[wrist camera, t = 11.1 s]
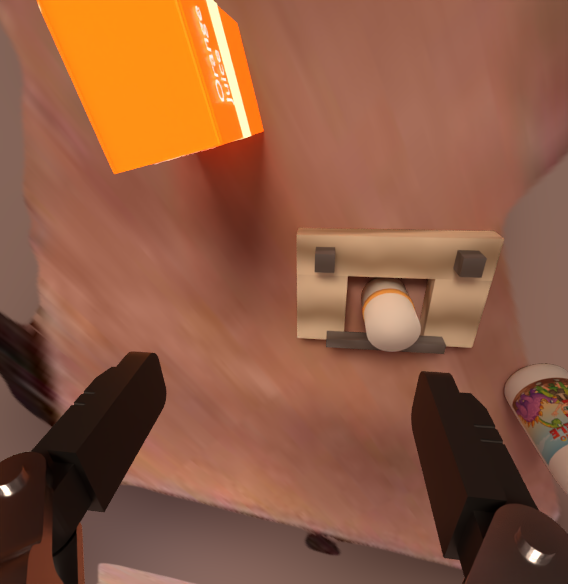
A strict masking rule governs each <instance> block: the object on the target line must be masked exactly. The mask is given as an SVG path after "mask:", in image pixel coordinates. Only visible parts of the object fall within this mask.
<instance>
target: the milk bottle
mask: <svg viewBox="0 0 568 584" xmlns="http://www.w3.org/2000/svg"><path fill="white" fill-rule="evenodd" d="M504 394H505V398H506V400H507V402H508V403H509V405H510V407H511V409H512V410H513V412H514V414H515V415H516V417H517V419H518V420H519V422H520V424H521V425H522V427H523V429H524V430H525V432H526V434H527V436H528V437H529V439H530V441H531V442H532V444H533V445H534V447H535V449H536V450H537V452H538V454H539V455H540V457H541V459H542V460H543V462H544V464H545V465H546V467H547V468H548V470H549V471H550V473H551V474H552V476H553V477H554V479H555V480H556V482H557V483H558V484H559V486H560V487H561V488H562V489H563V490H564V491H565V493H566V494H567V495H568V371H567V370H565V369H564V368H562V367H559V366H556V365H553V364H547V363H545V364H533V365H530V366H526V367H524V368H522V369H520V370H518V371H516V372H515V373H514V374H513V375H511V376H510V378H509V379H508V380H507V382H506V384H505V388H504Z"/></svg>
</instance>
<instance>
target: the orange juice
mask: <svg viewBox="0 0 568 584" xmlns="http://www.w3.org/2000/svg"><path fill="white" fill-rule="evenodd" d="M37 3H38V5H39V8H40V10H41V13H42V15H43V17H44V19H45V22H46V24H47V26H48V28H49V31H50V33H51V35H52V37H53V39H54V42H55V44H56V46H57V48H58V51H59V53H60V55H61V57H62V60H63V62H64V64H65V66H66V68H67V71H68V73H69V75H70V77H71V80H72V82H73V84H74V86H75V89H76V91H77V93H78V95H79V98H80V100H81V102H82V104H83V106H84V109H85V111H86V113H87V115H88V118H89V120H90V122H91V124H92V127H93V129H94V131H95V133H96V135H97V138H98V140H99V142H100V144H101V147H102V149H103V151H104V153H105V156H106V158H107V160H108V162H109V164H110V167H111V169H112V171H113V173H114V174H117V173H120V172H124V171H128V170H131V169H135V168H139V167H142V166H146V165H150V164H153V163H156V164H157V162H161V161H163V162H164V160H168V159H169V160H170V159H171V160H172V158H176V157H179V156H182V157H183V155H187V154H188V155H189V154H190V153H194V152H195V153H196V152H198V151H201V150H205V149H207V150H208V149H209V148H212V147H215V148H216V146H220V145H223V144H226V143H229V142H232V141H236V140H240V139H244V138H247V137H250V136H251V135H254V134H257V133H260V132H263V131H264V130H263V126H262V122H261V118H260V114H259V110H258V106H257V101H256V97H255V93H254V89H253V85H252V81H251V77H250V73H249V69H248V65H247V61H246V57H245V53H244V49H243V45H242V41H241V37H240V33H239V28H238V24H237V23H236V22H235V21H234V20H233V19H232V18H231V17H230V16H229V15H227V14H226V13H225V12H224V11H223V10H222V9H221V8H220V7H218V6H217V4H216V3H215V2H214V1H213V0H37Z"/></svg>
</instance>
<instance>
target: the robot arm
mask: <svg viewBox="0 0 568 584" xmlns="http://www.w3.org/2000/svg"><path fill="white" fill-rule="evenodd" d="M165 401H166V386H165V382H164V378H163V374H162V370H161V366H160V362H159V359H158V356H157V355H156V354H155V353H147V352H129V353H128V354H127V355H126V356H125V357H124V358H123V359H122V361H121V362H120V363H119V364H118V365H117V367H111V368H109V369H108V370H107V371H105V372H104V373H102V374H101V375H99V376H98V377H96V378H95V379H94V380H93V382H92V383H91V384H90V385H89V386H88V387H87V388H86V389H85V391H84V394H81V395H80V396H79V397H78V399H77V400H76V401H75V402H74V405H71V406H70V408H69V409H68V410H67V411H66V412H65V413H64V414H63V416H62V417H61V418H60V419H59V420H58V421H57V422H56V424H55V425H54V426H53V427H52V428H51V429H50V430H49V432H48V433H47V434H46V435H45V436H44V437H43V438H42V439H41V441H40V442H39V443H38V444H37V445H36V446H35V448H34V449H33V450H32V451H30V452H22V453H18V454H16V455H13V456H10V457H8V458H6V459H4V460H2V461H1V462H0V584H85V581H84V580H85V579H84V558H83V536H82V525H81V523H80V521H81V520H82V518H83V517H84V515H85V513H86V512H87V510H91V511H98V512H105V510H106V508H107V506H108V504H109V503H110V501H111V499H112V498H113V496H114V494H115V492H116V491H117V489H118V487H119V485H120V483H121V482H122V480H123V478H124V476H125V475H126V473H127V471H128V469H129V468H130V466H131V464H132V462H133V461H134V459H135V457H136V455H137V454H138V452H139V450H140V448H141V446H142V445H143V443H144V441H145V439H146V438H147V436H148V434H149V432H150V431H151V429H152V427H153V425H154V424H155V422H156V420H157V418H158V416H159V415H160V413H161V411H162V409H163V407H164V405H165ZM411 422H412V430H413V435H414V439H415V443H416V447H417V451H418V455H419V459H420V463H421V467H422V471H423V476H424V480H425V484H426V488H427V492H428V496H429V500H430V504H431V508H432V512H433V516H434V520H435V524H436V528H437V532H438V537H439V541H440V545H441V549H442V553H443V557H444V558H449V559H457V560H460V563H461V566H462V570H463V573H464V577H465V578H464V580H463V582H462V584H568V534H567V533H566V532H565V530H564V529H563V528H562V527H561V526H560V525H559V524H558V523H556V522H555V521H554V520H553V519H551V518H550V517H549V516H547V515H546V514H544V513H542V512H540V511H539V510H538V508H537V506H536V505H535V503H534V501H533V499H532V497H531V495H530V493H529V491H528V489H527V487H526V485H525V483H524V481H523V479H522V477H521V475H520V474H519V472H518V470H517V468H516V466H515V464H514V462H513V460H512V458H511V456H510V454H509V452H508V450H507V448H506V446H505V444H503V440H502V438H501V436H500V434H499V432H498V430H497V429H495V424H494V423H493V421H492V419H491V417H490V415H489V413H488V411H487V409H486V408H485V407H484V406H483V405H482V404H481V403H480V402H479V401H478V400H477V399H476V398H475V397H474V396H473V395H472V394H471V393H459V390H458V388H457V386H456V384H455V381H454V379H453V377H452V375H451V374H450V373H441V372H426V371H422V372H421V373H420V375H419V379H418V383H417V388H416V392H415V397H414V402H413V406H412V413H411Z"/></svg>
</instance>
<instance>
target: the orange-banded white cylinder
mask: <svg viewBox="0 0 568 584" xmlns="http://www.w3.org/2000/svg"><path fill="white" fill-rule="evenodd" d="M361 301H362V307H363V308H362V313H363V319H364V322H365V327H366V334H367V338H368V340H369V341H370V343H371V344H372V345H373V346H375V347H376V348H378V349H380V350H383V351H388V352H396V351H401V350H404V349H406V348H408V347H410V346H411V345H413V344H414V343H415V342H416V341H417V339H418V338H419V335H420V332H421V326H420V322H419V320H418V317H417V315H416V312H415V307H414V305H413V302H412V300H411V298H410V297H409V295H408V293H407V290H406V288H405V286H404V284H403V283H402V282H401V281H399V280H398V279H396V278H389V277H378V278H375V279H373V280H371V281H370V282H368V283H367V284H366V285H365V287H364V288H363V290H362V293H361Z"/></svg>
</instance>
